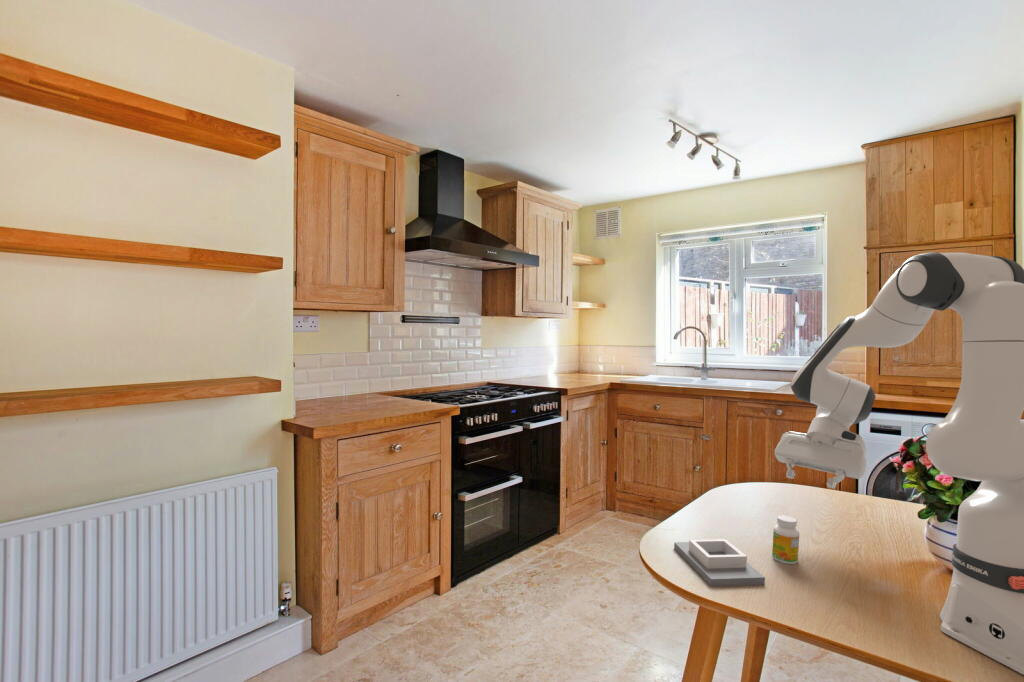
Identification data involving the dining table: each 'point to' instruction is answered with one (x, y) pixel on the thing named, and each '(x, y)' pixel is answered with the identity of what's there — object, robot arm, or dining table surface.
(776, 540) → the supplement bottle
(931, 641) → the dining table surface
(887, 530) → the dining table surface
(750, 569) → the socket board
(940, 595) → the dining table surface
